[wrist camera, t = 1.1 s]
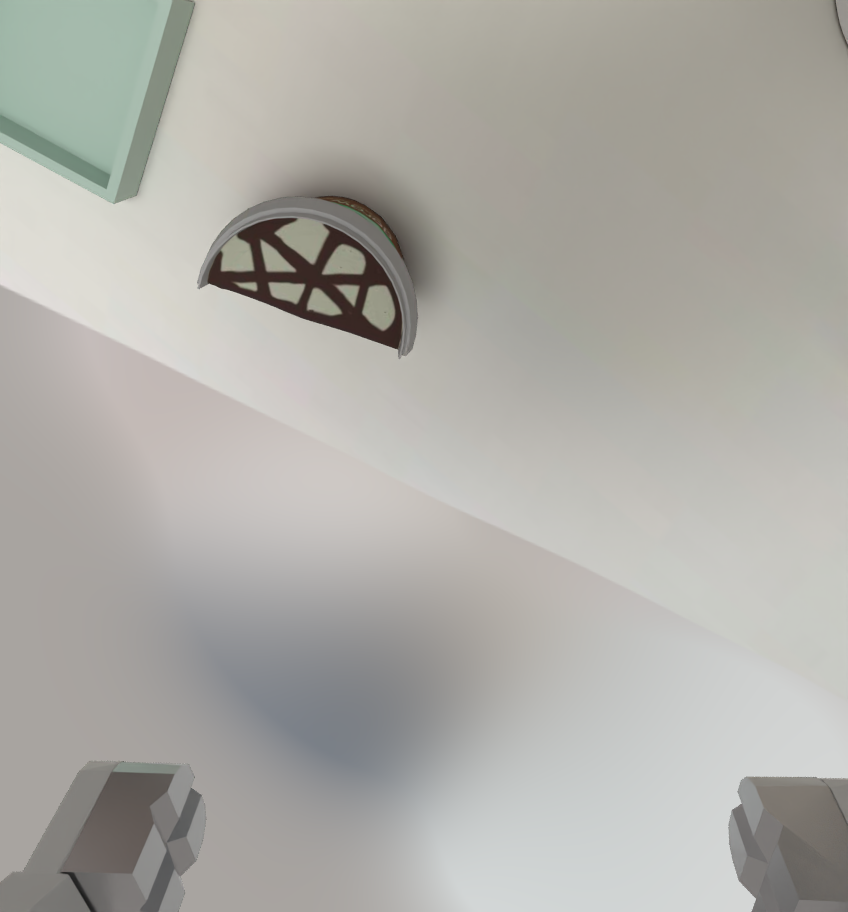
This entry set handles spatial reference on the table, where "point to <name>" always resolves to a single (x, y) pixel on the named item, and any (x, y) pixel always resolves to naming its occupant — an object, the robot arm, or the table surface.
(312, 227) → the food container
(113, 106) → the tray
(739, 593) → the table surface
